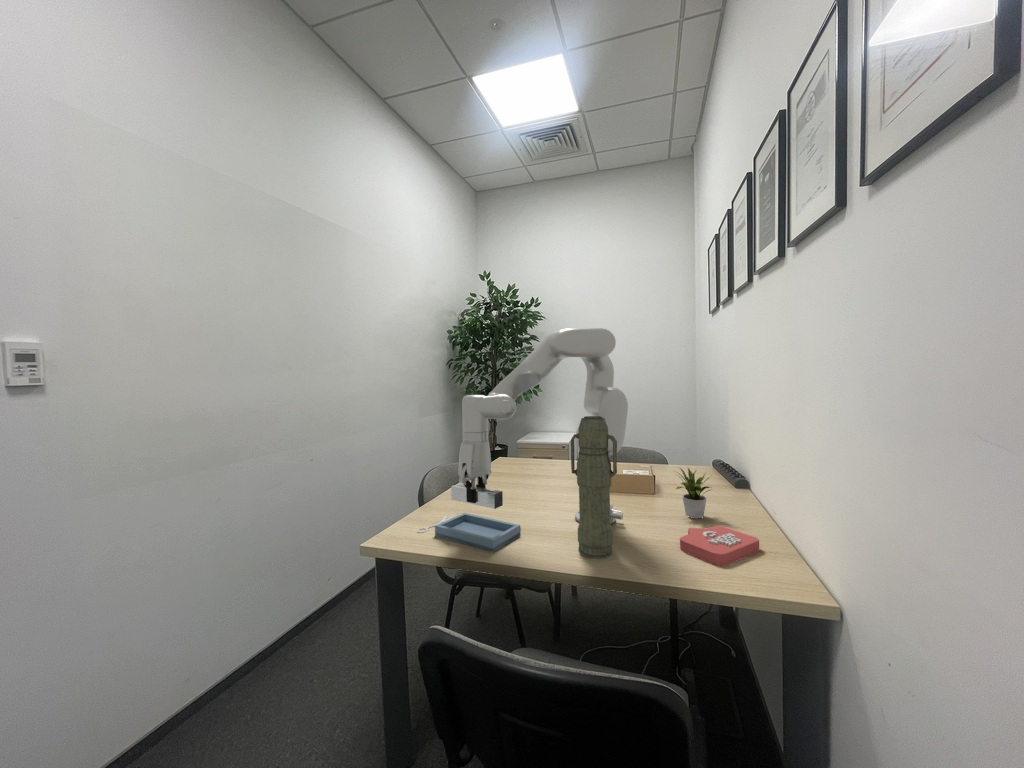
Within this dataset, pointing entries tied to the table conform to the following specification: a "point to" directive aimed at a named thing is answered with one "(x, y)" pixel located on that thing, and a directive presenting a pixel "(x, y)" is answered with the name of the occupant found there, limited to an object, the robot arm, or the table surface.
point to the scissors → (435, 524)
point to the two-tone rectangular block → (478, 496)
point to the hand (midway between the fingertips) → (476, 499)
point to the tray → (478, 531)
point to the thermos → (594, 486)
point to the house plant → (693, 495)
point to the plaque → (718, 544)
